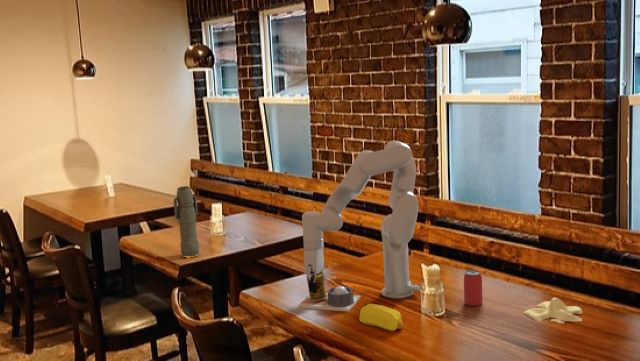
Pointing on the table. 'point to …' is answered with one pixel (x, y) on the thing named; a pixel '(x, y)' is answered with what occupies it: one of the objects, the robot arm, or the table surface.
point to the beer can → (473, 288)
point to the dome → (340, 290)
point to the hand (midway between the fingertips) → (316, 288)
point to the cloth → (554, 311)
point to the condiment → (318, 289)
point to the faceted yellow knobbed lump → (381, 317)
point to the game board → (333, 301)
